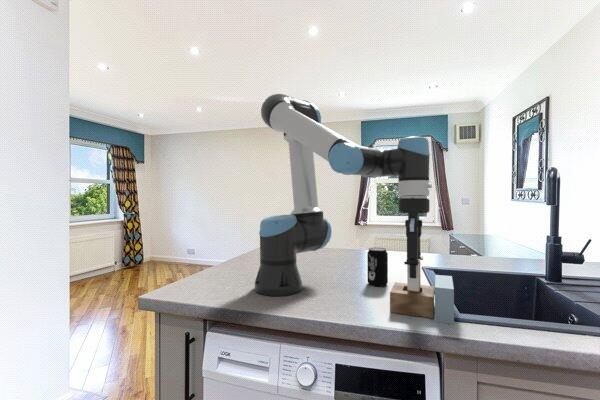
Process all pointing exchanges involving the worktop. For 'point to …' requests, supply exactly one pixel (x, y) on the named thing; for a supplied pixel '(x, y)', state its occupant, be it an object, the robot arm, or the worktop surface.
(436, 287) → the wall
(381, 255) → the beverage can
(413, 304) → the socket block
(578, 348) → the worktop surface
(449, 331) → the worktop surface
